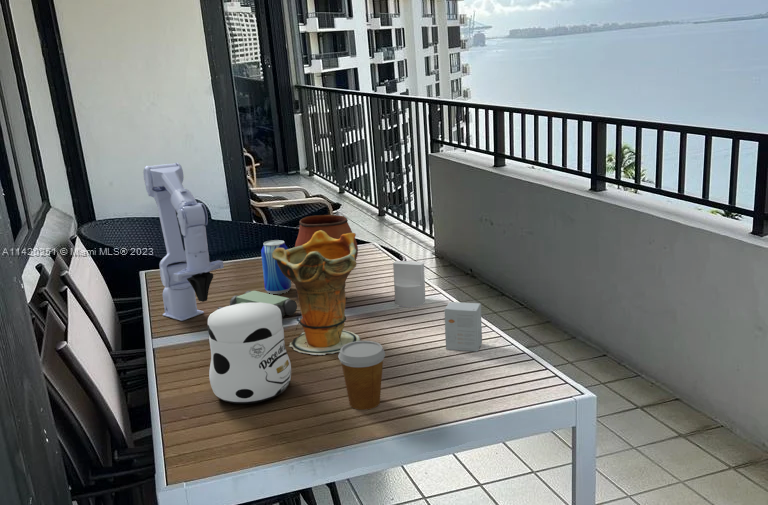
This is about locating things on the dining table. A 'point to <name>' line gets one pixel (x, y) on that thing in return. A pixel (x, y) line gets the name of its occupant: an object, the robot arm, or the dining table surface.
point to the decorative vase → (320, 290)
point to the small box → (463, 326)
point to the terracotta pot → (323, 228)
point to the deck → (266, 301)
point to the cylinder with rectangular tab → (409, 283)
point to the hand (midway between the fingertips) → (202, 300)
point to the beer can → (273, 269)
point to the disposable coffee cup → (362, 373)
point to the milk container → (248, 353)
